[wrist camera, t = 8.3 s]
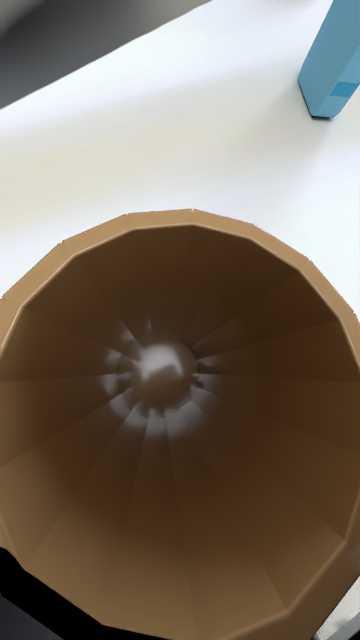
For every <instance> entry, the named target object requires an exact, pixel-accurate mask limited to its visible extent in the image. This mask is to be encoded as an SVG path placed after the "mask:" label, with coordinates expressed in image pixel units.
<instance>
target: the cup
mask: <svg viewBox="0 0 360 640" xmlns="http://www.w3.org/2000/svg"><path fill="white" fill-rule="evenodd" d="M2 298H3V299H0V592H1V593H0V594H1V595H2V596H3V597H4V598H6V599H7V600H8V601H10V602H11V603H13V604H14V605H15V606H17V607H18V608H20V609H21V610H22V611H24V612H25V613H27V614H28V615H30V616H31V617H32V618H34V619H35V620H37V621H38V622H39V623H41V624H42V625H44V626H45V627H46V628H48V629H49V630H51V631H52V632H53V633H55V634H56V635H58V636H59V637H61V638H62V639H63V640H311V639H312V638H313V636H314V635H315V634H316V632H317V631H318V630H319V629H320V627H321V626H322V625H323V623H324V622H325V621H326V619H327V618H328V617H329V615H330V614H331V613H332V611H333V610H334V609H335V607H336V606H337V605H338V604H339V602H340V601H341V600H342V598H343V597H344V596H345V594H346V593H347V592H348V590H349V589H350V588H351V586H352V585H353V584H354V582H355V581H356V580H357V578H358V577H359V576H360V323H359V321H358V318H357V316H356V314H355V313H353V312H354V311H353V309H352V308H351V307H350V306H349V305H348V303H347V302H346V301H345V300H344V299H343V298H342V296H341V295H340V294H339V293H338V292H337V290H336V289H335V288H334V287H333V286H332V285H331V283H330V282H329V281H328V280H327V279H326V278H325V276H324V275H323V274H322V273H321V272H320V270H319V269H318V268H317V267H316V266H315V265H314V263H313V262H312V261H311V260H309V259H308V258H307V257H306V256H304V255H303V254H301V253H299V252H298V251H296V250H295V249H293V248H291V247H290V246H288V245H287V244H285V243H284V242H282V241H280V240H279V239H277V238H276V237H274V236H272V235H271V234H269V233H268V232H266V231H265V230H263V229H261V228H260V227H258V226H256V225H255V226H254V224H251V223H248V222H244V221H240V220H236V219H232V218H228V217H224V216H220V215H216V214H212V213H209V212H205V211H201V210H197V209H193V210H192V209H179V210H165V211H151V212H137V213H128V215H127V214H124V215H122V216H119V217H117V218H115V219H112V220H110V221H108V222H105V223H103V224H101V225H98V226H96V227H94V228H91V229H89V230H87V231H84V232H82V233H80V234H77V235H75V236H73V237H70V238H68V239H66V240H63V241H62V243H59V244H58V245H56V246H55V247H54V248H53V249H52V250H51V251H50V252H49V253H48V254H47V255H46V256H45V257H44V258H43V259H41V260H40V261H39V262H38V263H37V264H36V265H35V266H34V267H33V268H32V269H31V270H30V271H29V272H27V273H26V274H25V275H24V276H23V277H22V278H21V279H20V280H19V281H18V282H17V283H16V284H15V285H14V286H12V287H11V288H10V289H9V290H8V291H7V292H6V293H5V294H4V295H3V296H2Z"/></svg>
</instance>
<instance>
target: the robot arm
mask: <svg viewBox="0 0 360 640" xmlns="http://www.w3.org/2000/svg"><path fill="white" fill-rule="evenodd" d="M0 593H1V592H0ZM0 640H63V639H62V638H61V637H59V636H58V635H56V634H55V633H53V632H52V631H51V630H49V629H48V628H46V627H45V626H44V625H42V624H41V623H39V622H38V621H37V620H35V619H34V618H32V617H31V616H30V615H28V614H27V613H25V612H24V611H22V610H21V609H20V608H18V607H17V606H15V605H14V604H13V603H11V602H10V601H8V600H7V599H6V598H4V597H3V596H2V595H1V594H0ZM311 640H320V639H319V637H318V635H317V634H315V635H314V636H313V638H312V639H311ZM327 640H360V612H359V613H358V614H357V615H356V616H355V617H354V618H352V619H351V620H350V621H349V622H348V623H346V624H345V625H344V626H343V627H342V628H340V629H339V630H338V631H337V632H336V633H334V634H333V635H332V636H331V637H330V638H329V639H327Z"/></svg>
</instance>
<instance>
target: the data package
mask: <svg viewBox="0 0 360 640" xmlns="http://www.w3.org/2000/svg"><path fill="white" fill-rule="evenodd" d="M299 84H300V87H301V90H302V92H303V95H304V98H305V101H306V103H307V106H308V109H309V111H310V114H311V115H312V116H320V117H335V116H336V115H337V114H338V113H339V112H340V111H341V110H342V108H343V107H344V106H345V104H346V103H347V101H348V100H349V98H350V97H351V96H352V94H353V93H354V91H355V90H356V89H357V87H358V86H359V84H360V0H333V3H332V5H331V7H330V9H329V11H328V13H327V15H326V17H325V19H324V21H323V23H322V26H321V28H320V30H319V32H318V34H317V36H316V38H315V40H314V42H313V44H312V47H311V49H310V51H309V53H308V55H307V57H306V59H305V61H304V63H303V65H302V68H301V71H300V74H299Z"/></svg>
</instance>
